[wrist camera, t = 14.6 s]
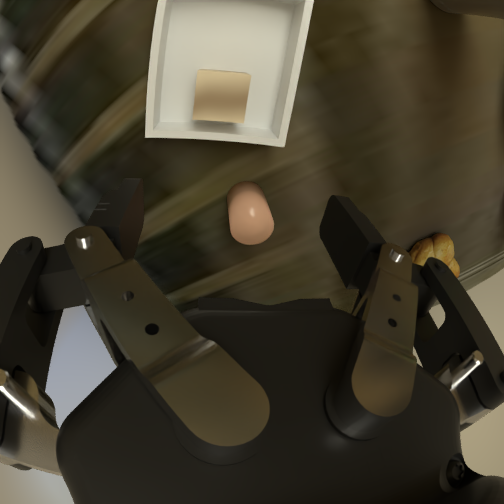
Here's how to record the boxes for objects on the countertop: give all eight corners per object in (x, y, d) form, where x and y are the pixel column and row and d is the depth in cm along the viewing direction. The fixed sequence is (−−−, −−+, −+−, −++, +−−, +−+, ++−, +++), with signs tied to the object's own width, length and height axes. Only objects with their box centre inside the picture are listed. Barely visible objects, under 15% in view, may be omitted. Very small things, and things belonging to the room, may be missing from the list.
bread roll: (393, 276, 53) (410, 305, 47) (396, 240, 47) (418, 270, 40) (441, 257, 52) (460, 283, 45) (448, 222, 46) (471, 247, 39)
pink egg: (229, 179, 36) (233, 206, 30) (267, 182, 37) (277, 209, 31) (225, 212, 39) (228, 243, 34) (260, 215, 40) (269, 245, 35)
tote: (169, -12, 19) (162, -23, 15) (300, 2, 22) (314, -5, 18) (154, 126, 30) (145, 137, 26) (274, 134, 33) (284, 147, 29)
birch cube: (199, 68, 26) (197, 70, 22) (245, 72, 27) (251, 75, 23) (195, 110, 29) (192, 119, 25) (239, 113, 30) (243, 123, 26)
